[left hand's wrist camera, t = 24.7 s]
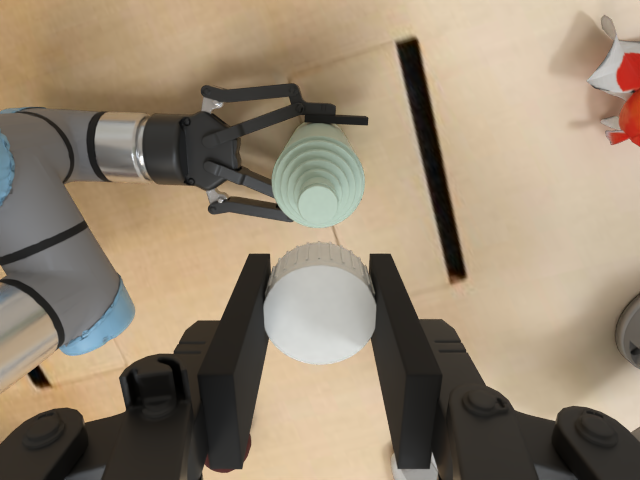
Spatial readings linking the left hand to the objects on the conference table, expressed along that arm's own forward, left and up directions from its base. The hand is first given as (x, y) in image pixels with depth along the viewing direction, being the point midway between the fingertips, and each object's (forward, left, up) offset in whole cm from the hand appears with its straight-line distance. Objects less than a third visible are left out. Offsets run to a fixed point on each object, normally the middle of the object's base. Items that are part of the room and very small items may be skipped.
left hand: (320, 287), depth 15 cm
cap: (0, 0, +2) cm, 2 cm away
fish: (-29, -18, -36) cm, 50 cm away
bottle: (0, 0, -36) cm, 36 cm away
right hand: (-4, -2, -30) cm, 31 cm away
